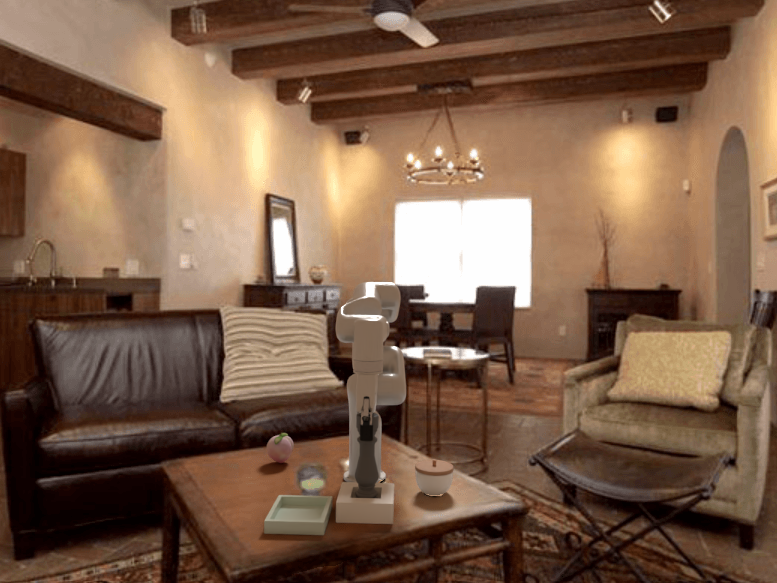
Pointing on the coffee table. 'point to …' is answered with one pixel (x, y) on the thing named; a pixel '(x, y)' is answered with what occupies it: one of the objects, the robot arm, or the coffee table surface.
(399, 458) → the coffee table surface
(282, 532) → the parts tray
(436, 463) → the lidded jar
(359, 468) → the candle holder
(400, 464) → the coffee table surface
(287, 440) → the decorative fruit
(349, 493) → the socket block
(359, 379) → the robot arm
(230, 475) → the coffee table surface
